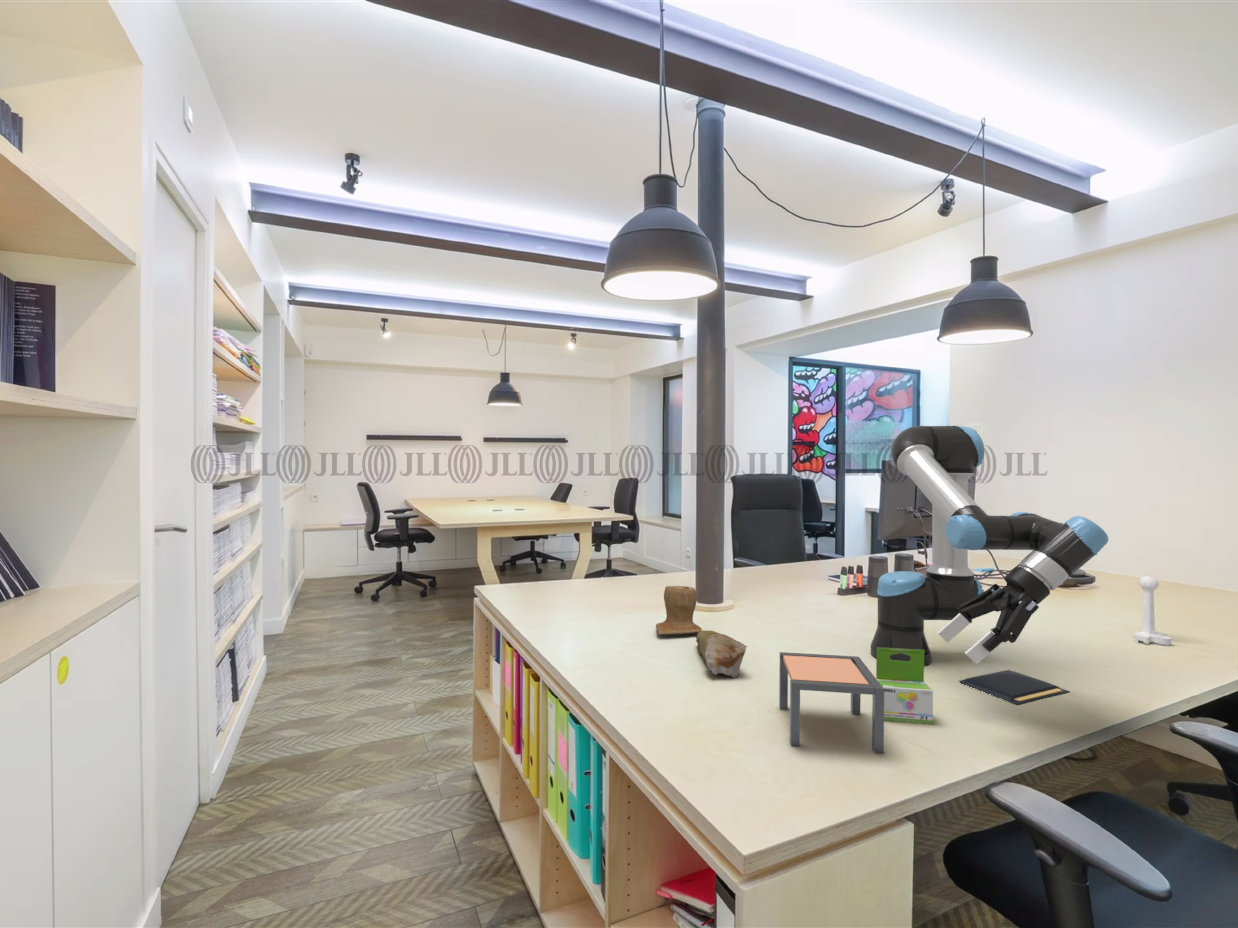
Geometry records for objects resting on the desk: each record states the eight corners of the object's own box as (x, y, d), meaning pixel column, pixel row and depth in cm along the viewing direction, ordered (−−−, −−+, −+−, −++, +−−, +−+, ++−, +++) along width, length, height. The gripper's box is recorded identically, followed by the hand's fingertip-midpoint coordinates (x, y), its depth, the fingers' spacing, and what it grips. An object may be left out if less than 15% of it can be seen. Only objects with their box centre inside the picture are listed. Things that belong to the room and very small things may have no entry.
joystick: (1149, 636, 180) (1150, 573, 180) (1180, 643, 173) (1181, 578, 173) (1128, 640, 176) (1129, 575, 176) (1159, 648, 169) (1160, 580, 169)
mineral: (685, 617, 168) (718, 621, 169) (681, 648, 167) (713, 653, 168) (713, 638, 142) (751, 643, 143) (708, 676, 141) (746, 681, 142)
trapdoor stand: (858, 711, 124) (858, 656, 124) (883, 753, 106) (884, 688, 106) (779, 705, 127) (779, 651, 127) (790, 745, 109) (791, 682, 109)
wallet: (1009, 666, 149) (1073, 687, 135) (1009, 673, 149) (1073, 695, 135) (954, 676, 142) (1015, 699, 128) (953, 683, 142) (1015, 708, 128)
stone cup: (692, 625, 188) (692, 580, 188) (705, 636, 177) (706, 588, 177) (648, 628, 185) (648, 582, 185) (659, 639, 173) (659, 590, 173)
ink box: (880, 720, 120) (881, 654, 120) (873, 710, 125) (874, 646, 125) (933, 724, 118) (934, 657, 118) (924, 713, 123) (924, 649, 123)
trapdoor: (850, 663, 122) (850, 658, 122) (868, 689, 109) (868, 683, 109) (783, 659, 125) (783, 655, 125) (792, 684, 111) (792, 679, 111)
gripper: (1089, 606, 105) (999, 683, 107) (1015, 579, 129) (944, 642, 132) (1057, 576, 106) (969, 653, 108) (990, 555, 130) (920, 618, 132)
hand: (955, 647), depth 120 cm, fingers open, 13 cm apart
